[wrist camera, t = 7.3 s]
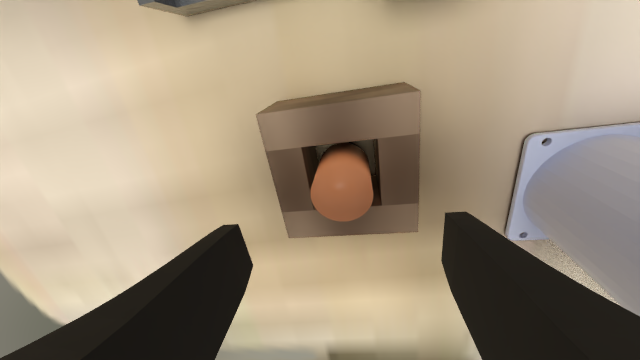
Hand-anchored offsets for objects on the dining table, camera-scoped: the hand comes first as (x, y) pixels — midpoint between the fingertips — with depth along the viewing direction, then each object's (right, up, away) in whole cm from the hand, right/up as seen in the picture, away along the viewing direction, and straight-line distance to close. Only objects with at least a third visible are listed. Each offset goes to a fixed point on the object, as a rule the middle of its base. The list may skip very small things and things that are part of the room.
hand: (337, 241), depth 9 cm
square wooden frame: (+1, +4, +8) cm, 9 cm away
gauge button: (+1, +3, +6) cm, 7 cm away
